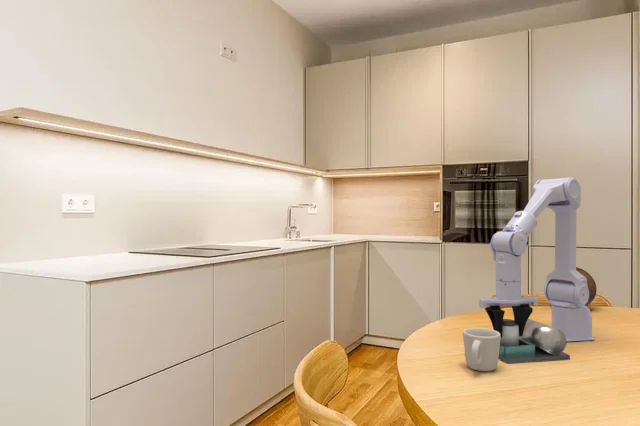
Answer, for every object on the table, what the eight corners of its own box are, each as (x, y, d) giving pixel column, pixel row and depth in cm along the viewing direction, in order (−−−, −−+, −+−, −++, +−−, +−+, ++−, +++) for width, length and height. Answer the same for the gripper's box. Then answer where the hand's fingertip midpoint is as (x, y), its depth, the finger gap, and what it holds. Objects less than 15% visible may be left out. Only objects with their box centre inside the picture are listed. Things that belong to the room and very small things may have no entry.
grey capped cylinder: (513, 341, 113) (512, 317, 113) (523, 347, 108) (522, 322, 108) (493, 342, 113) (492, 318, 113) (502, 348, 108) (502, 323, 108)
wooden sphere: (559, 302, 171) (558, 263, 171) (603, 309, 159) (602, 266, 160) (541, 308, 162) (540, 266, 162) (586, 315, 150) (586, 270, 150)
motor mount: (534, 343, 118) (534, 317, 118) (569, 359, 105) (569, 329, 105) (478, 347, 116) (478, 319, 116) (507, 363, 103) (506, 333, 103)
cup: (494, 381, 92) (494, 342, 92) (455, 374, 96) (455, 336, 96) (503, 365, 101) (503, 330, 101) (467, 359, 106) (467, 325, 106)
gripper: (525, 277, 115) (525, 330, 115) (472, 278, 113) (473, 333, 113) (543, 281, 108) (543, 337, 108) (487, 283, 106) (487, 340, 106)
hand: (508, 335), depth 110 cm, fingers closed on grey capped cylinder, 5 cm apart
